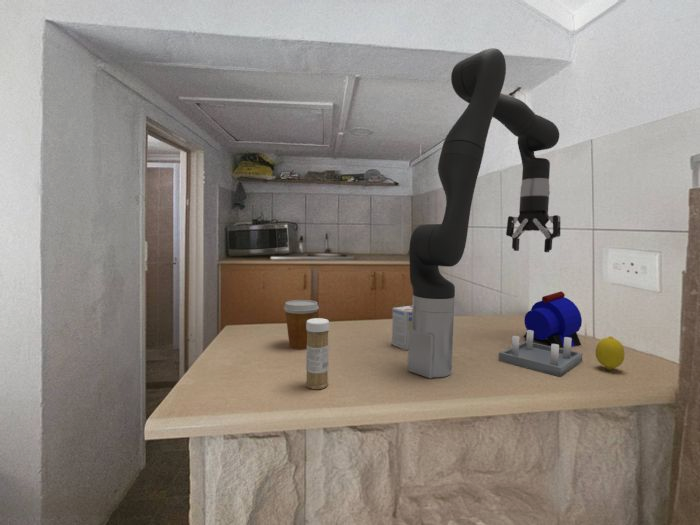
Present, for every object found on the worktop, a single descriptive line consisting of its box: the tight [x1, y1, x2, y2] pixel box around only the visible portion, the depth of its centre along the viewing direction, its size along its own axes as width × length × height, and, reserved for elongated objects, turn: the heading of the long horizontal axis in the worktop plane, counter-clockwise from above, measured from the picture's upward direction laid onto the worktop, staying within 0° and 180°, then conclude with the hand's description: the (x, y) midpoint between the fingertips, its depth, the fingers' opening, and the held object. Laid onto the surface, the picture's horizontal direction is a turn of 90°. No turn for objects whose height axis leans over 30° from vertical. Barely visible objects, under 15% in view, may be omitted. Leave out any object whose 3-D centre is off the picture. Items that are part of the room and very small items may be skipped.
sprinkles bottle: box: [305, 317, 330, 390], centre depth 73 cm, size 5×5×13 cm
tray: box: [498, 329, 583, 378], centre depth 91 cm, size 16×14×6 cm
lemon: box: [595, 336, 625, 371], centre depth 86 cm, size 6×6×8 cm
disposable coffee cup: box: [283, 299, 320, 350], centre depth 100 cm, size 10×10×12 cm
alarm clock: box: [523, 291, 583, 349], centre depth 109 cm, size 12×12×15 cm
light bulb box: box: [391, 305, 412, 351], centre depth 103 cm, size 11×7×11 cm, turn 123°
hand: (531, 251), depth 107 cm, fingers open, 8 cm apart
